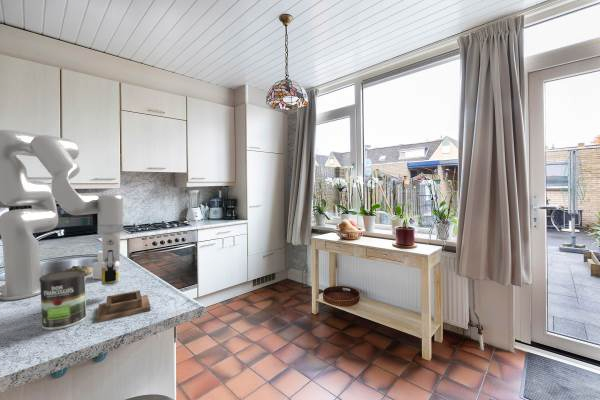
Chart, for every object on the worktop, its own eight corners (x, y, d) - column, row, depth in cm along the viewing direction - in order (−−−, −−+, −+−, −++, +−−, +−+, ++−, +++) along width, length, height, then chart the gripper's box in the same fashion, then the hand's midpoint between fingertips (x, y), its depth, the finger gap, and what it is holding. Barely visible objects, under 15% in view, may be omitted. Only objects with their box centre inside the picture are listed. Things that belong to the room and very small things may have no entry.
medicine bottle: (106, 274, 127) (105, 248, 127) (120, 274, 126) (119, 248, 126) (92, 279, 120) (91, 251, 120) (107, 279, 119) (106, 252, 119)
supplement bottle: (116, 285, 99) (116, 259, 98) (99, 287, 97) (99, 259, 97) (121, 280, 104) (121, 255, 103) (104, 281, 102) (104, 256, 102)
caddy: (96, 322, 82) (96, 309, 82) (99, 307, 92) (98, 296, 92) (150, 310, 89) (150, 299, 89) (147, 298, 99) (147, 287, 99)
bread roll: (55, 279, 121) (56, 267, 121) (73, 274, 132) (75, 263, 132) (82, 279, 122) (83, 267, 122) (98, 274, 133) (99, 264, 133)
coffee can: (81, 325, 80) (79, 277, 79) (34, 333, 76) (32, 282, 75) (91, 311, 89) (89, 267, 89) (50, 317, 85) (48, 271, 84)
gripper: (123, 232, 94) (123, 284, 95) (122, 225, 109) (122, 270, 110) (96, 233, 90) (96, 288, 91) (99, 226, 105) (99, 273, 106)
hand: (110, 278), depth 100 cm, fingers closed on supplement bottle, 5 cm apart
